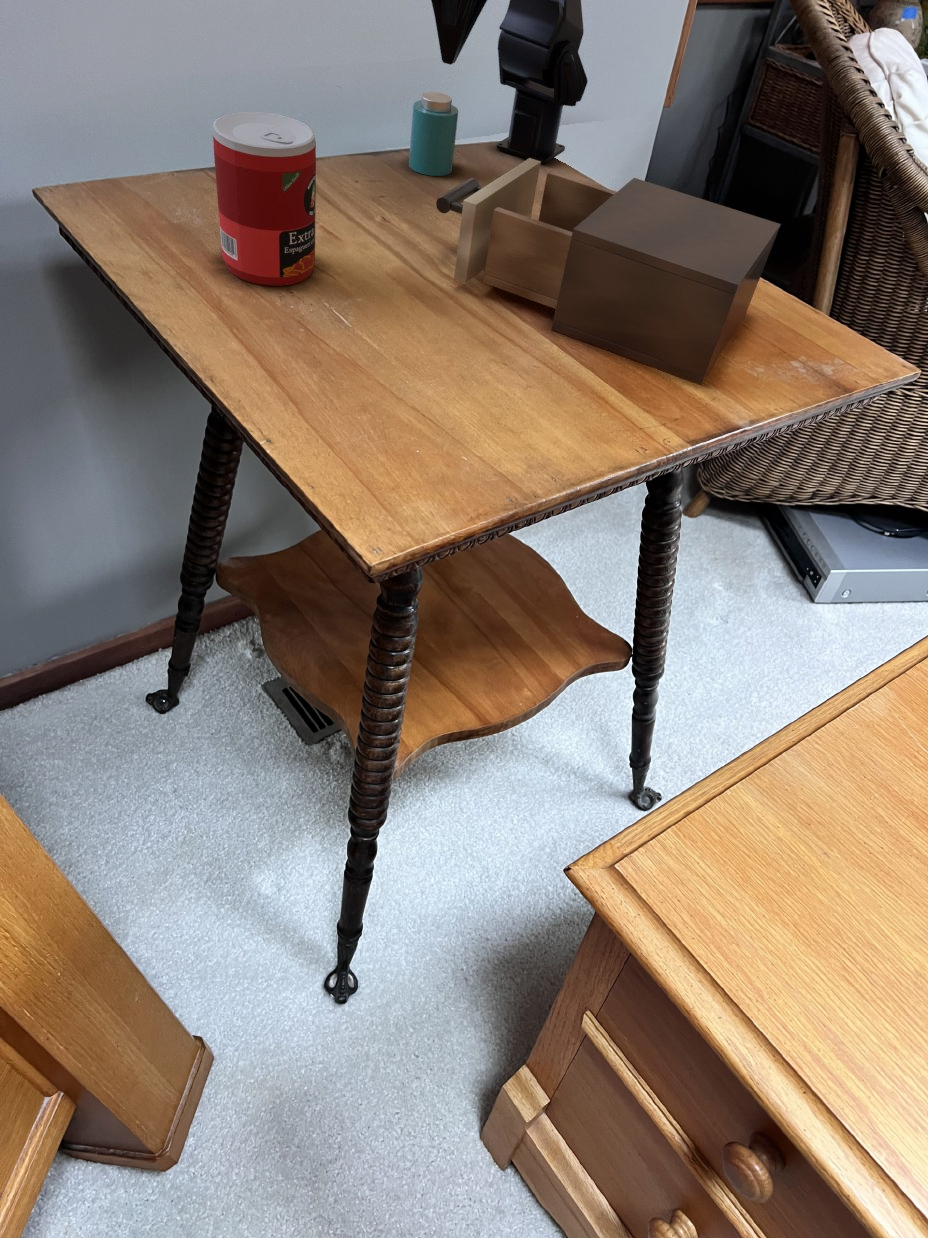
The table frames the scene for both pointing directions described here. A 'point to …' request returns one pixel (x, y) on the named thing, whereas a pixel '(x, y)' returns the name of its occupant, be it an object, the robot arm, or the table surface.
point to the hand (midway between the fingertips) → (448, 62)
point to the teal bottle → (433, 134)
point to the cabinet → (662, 277)
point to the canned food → (266, 196)
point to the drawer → (520, 229)
